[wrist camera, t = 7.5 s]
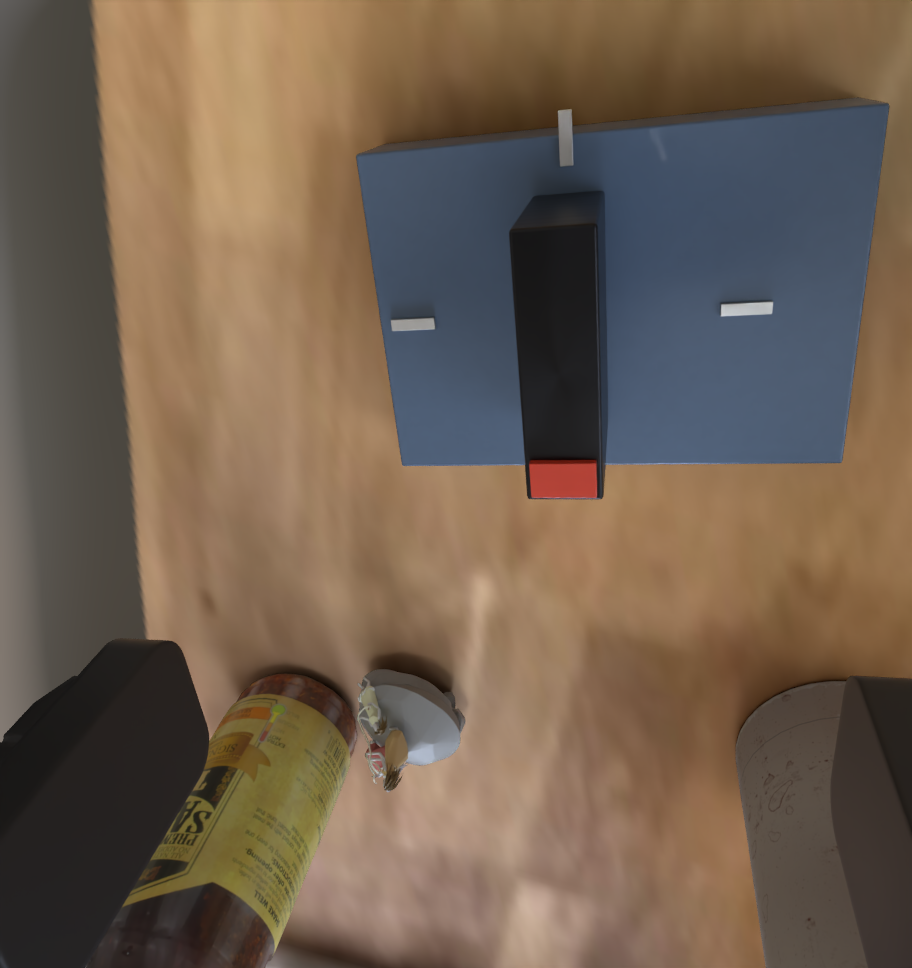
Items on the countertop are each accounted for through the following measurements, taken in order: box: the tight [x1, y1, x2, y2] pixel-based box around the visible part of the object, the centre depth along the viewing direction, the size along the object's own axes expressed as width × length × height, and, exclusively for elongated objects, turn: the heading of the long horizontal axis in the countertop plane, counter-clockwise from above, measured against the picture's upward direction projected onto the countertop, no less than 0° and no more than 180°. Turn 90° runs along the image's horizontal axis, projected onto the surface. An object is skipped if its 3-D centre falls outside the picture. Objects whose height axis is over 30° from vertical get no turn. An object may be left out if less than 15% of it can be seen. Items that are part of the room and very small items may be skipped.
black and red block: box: [509, 191, 608, 499], centre depth 21 cm, size 7×2×5 cm, turn 6°
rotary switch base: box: [356, 98, 889, 466], centre depth 25 cm, size 14×11×3 cm
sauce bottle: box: [86, 674, 357, 968], centre depth 30 cm, size 7×6×20 cm
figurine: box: [357, 669, 465, 792], centre depth 34 cm, size 5×4×6 cm
